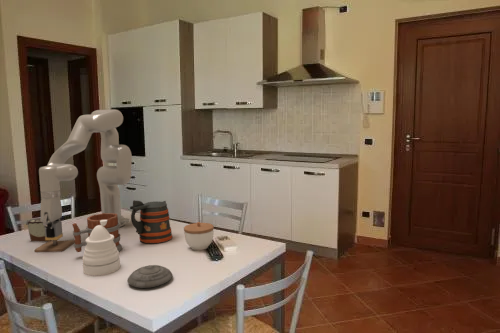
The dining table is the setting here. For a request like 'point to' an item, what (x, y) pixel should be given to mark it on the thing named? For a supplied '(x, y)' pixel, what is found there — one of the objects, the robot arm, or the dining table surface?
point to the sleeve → (55, 230)
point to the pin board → (55, 246)
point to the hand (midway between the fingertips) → (54, 235)
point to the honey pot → (100, 252)
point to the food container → (36, 230)
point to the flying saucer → (149, 276)
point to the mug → (94, 221)
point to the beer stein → (152, 221)
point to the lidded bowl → (199, 235)
